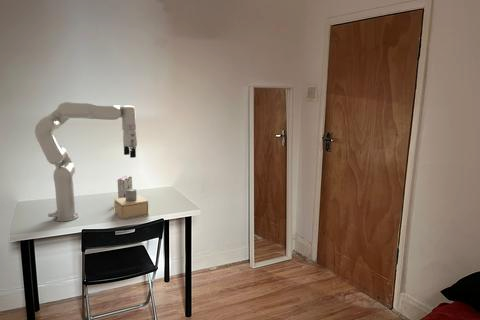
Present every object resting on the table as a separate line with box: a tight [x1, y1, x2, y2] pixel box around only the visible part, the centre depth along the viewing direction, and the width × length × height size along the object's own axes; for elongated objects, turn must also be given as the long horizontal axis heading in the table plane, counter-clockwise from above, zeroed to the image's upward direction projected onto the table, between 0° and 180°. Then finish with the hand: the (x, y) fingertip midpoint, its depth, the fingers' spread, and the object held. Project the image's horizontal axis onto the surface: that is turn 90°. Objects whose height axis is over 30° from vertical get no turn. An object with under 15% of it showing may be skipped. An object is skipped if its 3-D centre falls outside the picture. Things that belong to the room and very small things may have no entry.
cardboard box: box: [114, 200, 149, 221], centre depth 226 cm, size 16×13×8 cm
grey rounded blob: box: [125, 188, 138, 202], centre depth 225 cm, size 6×6×6 cm
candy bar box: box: [116, 175, 133, 199], centre depth 249 cm, size 11×5×16 cm, turn 168°
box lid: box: [114, 194, 149, 206], centre depth 225 cm, size 16×13×1 cm
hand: (129, 156), depth 220 cm, fingers open, 9 cm apart
